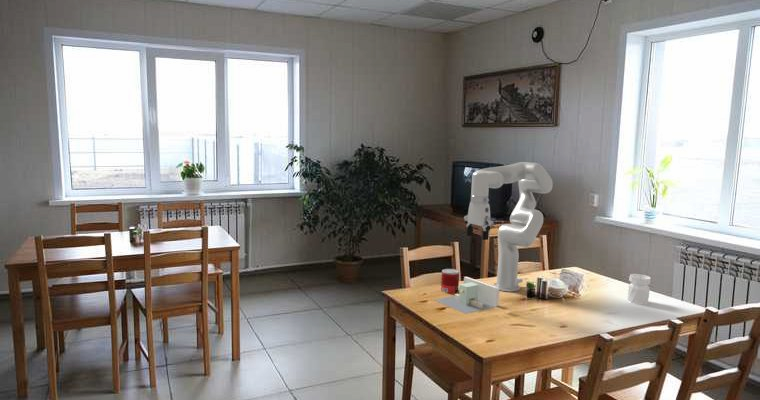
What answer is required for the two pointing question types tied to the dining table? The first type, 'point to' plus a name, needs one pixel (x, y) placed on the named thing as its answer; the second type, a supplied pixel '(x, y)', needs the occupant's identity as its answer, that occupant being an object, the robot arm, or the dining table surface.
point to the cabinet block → (468, 292)
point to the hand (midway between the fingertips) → (477, 237)
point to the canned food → (450, 281)
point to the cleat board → (461, 306)
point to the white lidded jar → (639, 289)
